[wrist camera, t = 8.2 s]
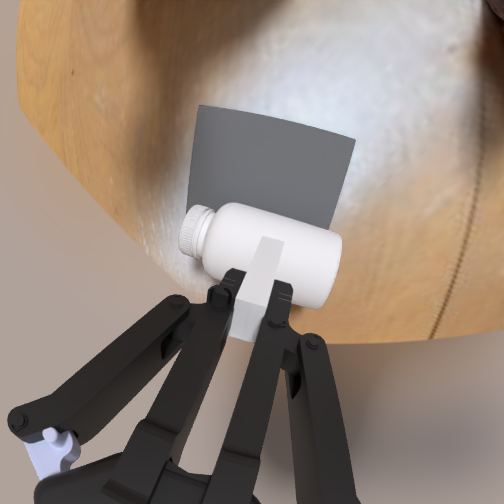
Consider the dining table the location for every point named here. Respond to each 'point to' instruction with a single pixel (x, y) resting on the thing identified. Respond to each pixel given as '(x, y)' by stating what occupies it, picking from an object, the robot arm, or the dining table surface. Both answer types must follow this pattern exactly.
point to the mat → (267, 165)
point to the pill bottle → (248, 238)
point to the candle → (497, 7)
